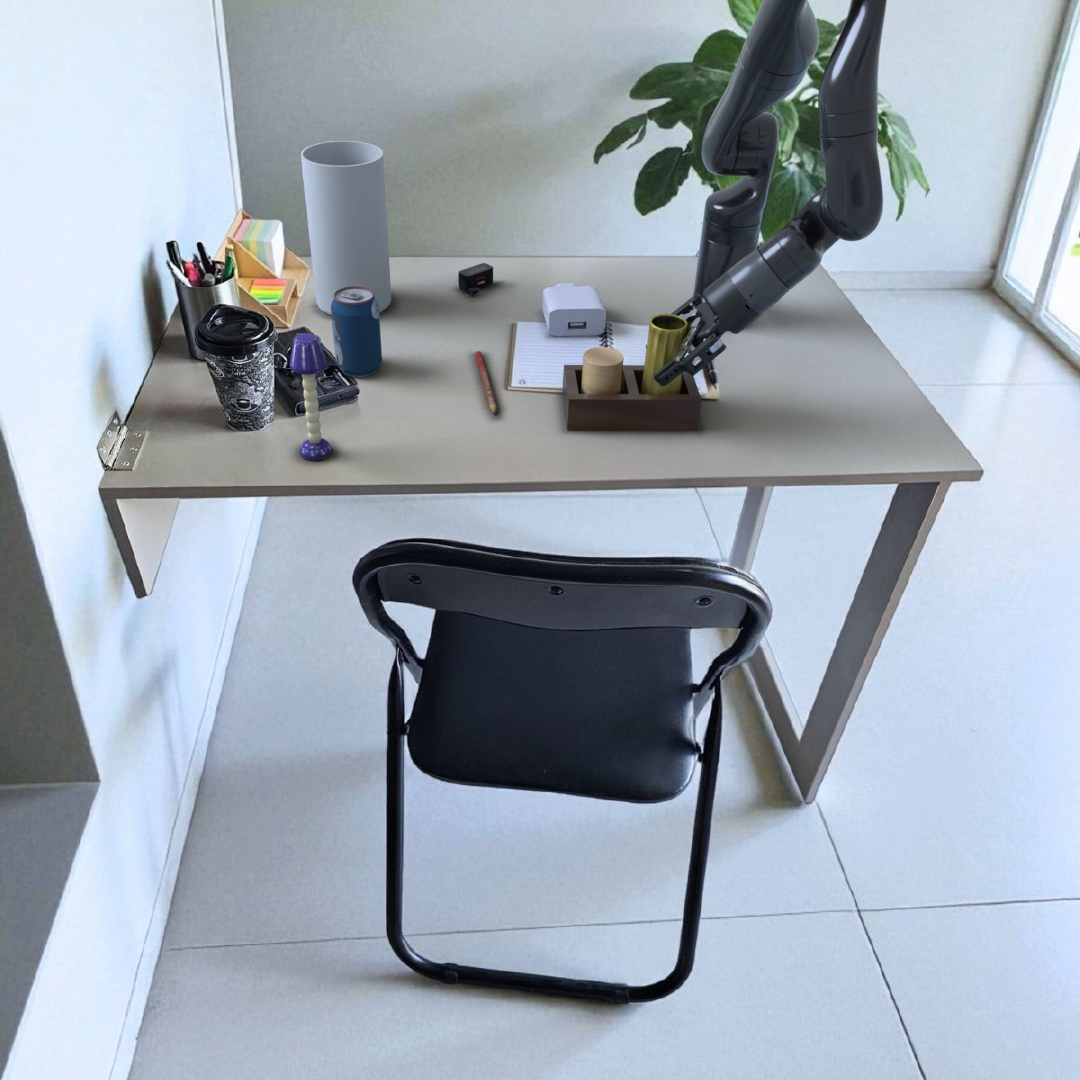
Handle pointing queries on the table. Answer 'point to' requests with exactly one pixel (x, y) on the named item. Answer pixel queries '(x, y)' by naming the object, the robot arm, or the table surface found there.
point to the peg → (602, 371)
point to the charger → (573, 310)
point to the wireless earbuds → (475, 278)
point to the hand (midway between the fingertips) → (653, 366)
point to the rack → (630, 404)
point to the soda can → (356, 331)
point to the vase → (662, 351)
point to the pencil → (486, 382)
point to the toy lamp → (310, 392)
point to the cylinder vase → (347, 219)
